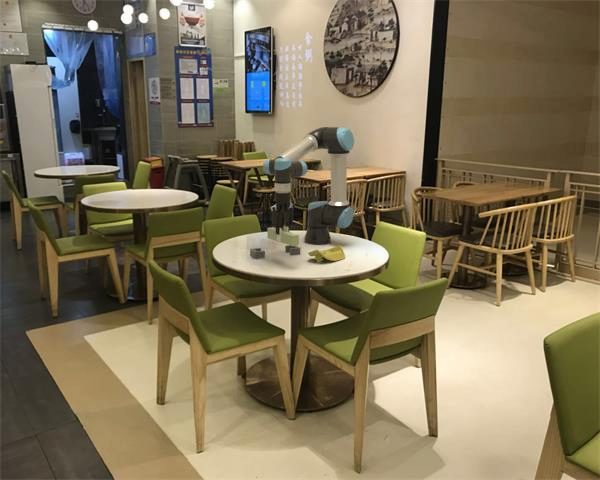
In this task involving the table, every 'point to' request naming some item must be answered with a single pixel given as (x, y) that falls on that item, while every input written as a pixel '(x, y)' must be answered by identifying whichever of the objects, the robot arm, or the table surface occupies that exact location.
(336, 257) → the plastic component
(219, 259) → the table surface
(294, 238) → the slat
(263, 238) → the table surface
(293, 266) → the table surface
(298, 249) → the end caps
